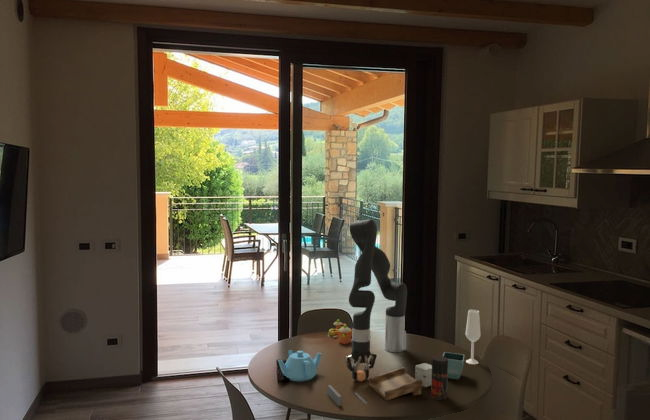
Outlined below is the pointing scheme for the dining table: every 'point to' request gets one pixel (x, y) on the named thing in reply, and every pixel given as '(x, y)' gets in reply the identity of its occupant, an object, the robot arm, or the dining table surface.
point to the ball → (361, 375)
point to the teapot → (300, 366)
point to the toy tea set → (341, 333)
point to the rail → (334, 395)
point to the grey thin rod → (361, 398)
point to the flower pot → (454, 364)
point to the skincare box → (424, 373)
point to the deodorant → (439, 377)
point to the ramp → (395, 384)
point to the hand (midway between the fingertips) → (360, 379)
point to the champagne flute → (473, 332)
